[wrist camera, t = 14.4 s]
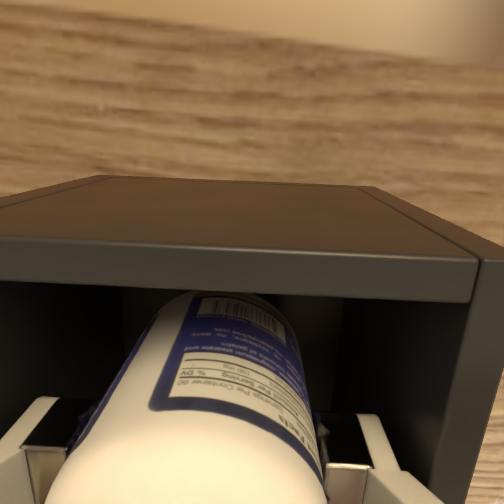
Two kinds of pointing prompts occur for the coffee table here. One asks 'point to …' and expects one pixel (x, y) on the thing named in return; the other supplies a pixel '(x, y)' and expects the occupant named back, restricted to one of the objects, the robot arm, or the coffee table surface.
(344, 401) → the bin
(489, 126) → the coffee table surface
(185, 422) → the pill bottle
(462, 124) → the coffee table surface
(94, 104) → the coffee table surface
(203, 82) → the coffee table surface
